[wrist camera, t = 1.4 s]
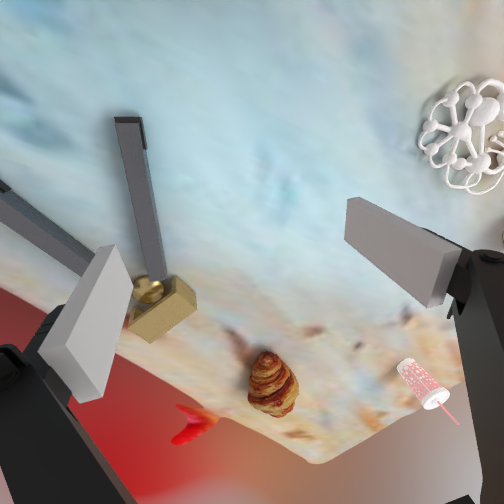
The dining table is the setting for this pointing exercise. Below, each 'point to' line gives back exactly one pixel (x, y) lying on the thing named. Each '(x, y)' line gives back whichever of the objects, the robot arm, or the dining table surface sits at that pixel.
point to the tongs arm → (142, 193)
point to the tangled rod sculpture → (468, 134)
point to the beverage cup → (424, 385)
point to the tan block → (163, 312)
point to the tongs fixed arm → (60, 242)
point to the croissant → (272, 386)
